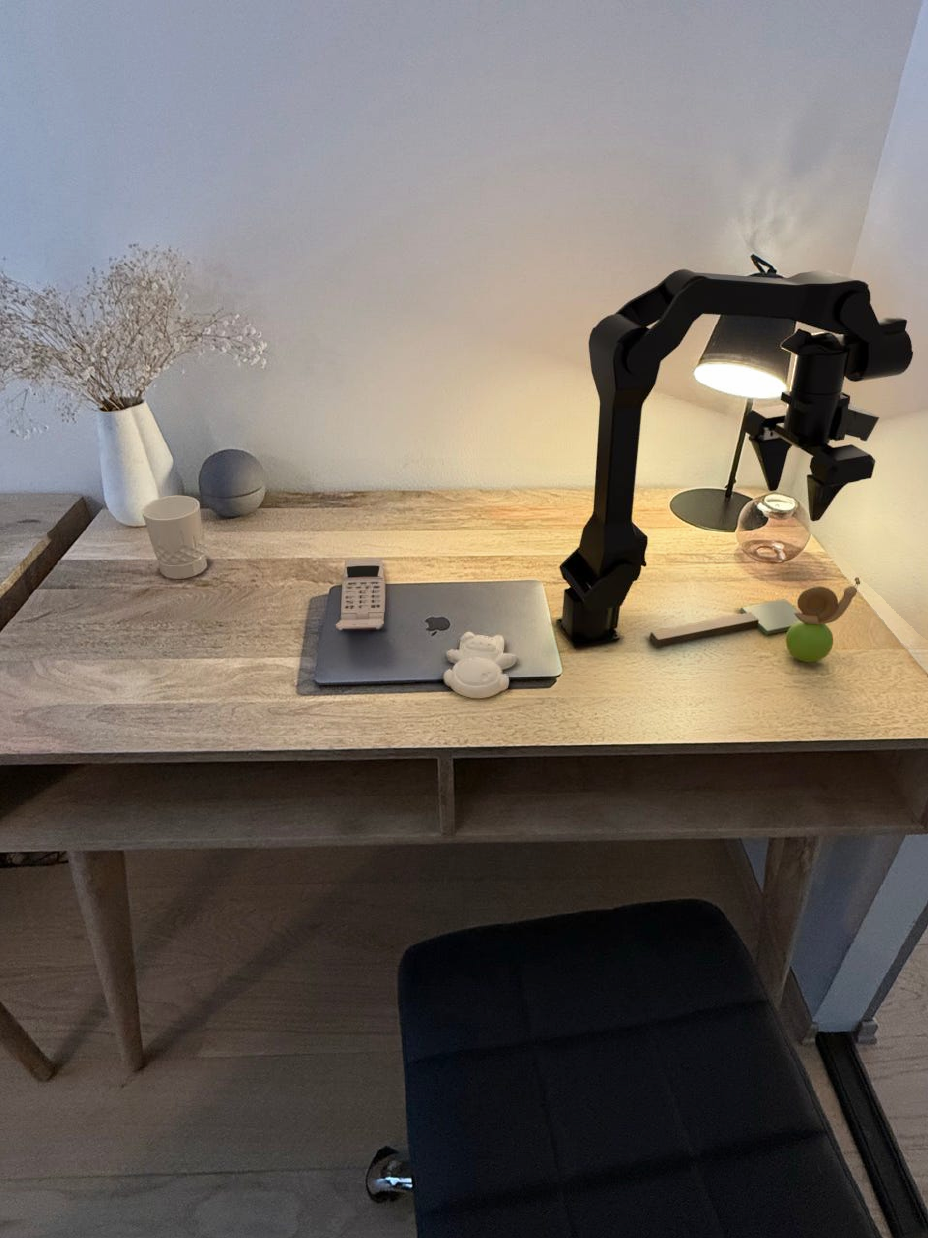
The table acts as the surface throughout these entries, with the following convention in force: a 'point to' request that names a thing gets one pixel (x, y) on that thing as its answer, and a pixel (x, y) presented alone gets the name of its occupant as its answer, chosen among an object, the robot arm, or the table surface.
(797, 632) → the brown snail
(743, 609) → the spatula
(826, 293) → the robot arm
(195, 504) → the white cup
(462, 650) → the white animal figurine
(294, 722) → the table surface
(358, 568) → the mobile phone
